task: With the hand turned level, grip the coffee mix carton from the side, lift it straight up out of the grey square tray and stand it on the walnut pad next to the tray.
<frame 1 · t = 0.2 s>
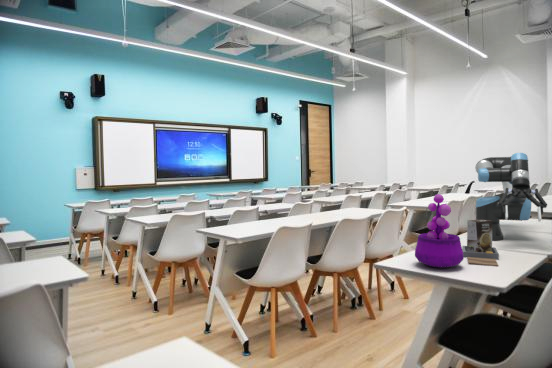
hand: (523, 219, 190), 15 cm above the table, tool tilted 35°, fingers open, 13 cm apart
decorative plant: (438, 266, 166), on the table
grey square tray: (479, 255, 183), on the table
coffee box: (479, 255, 183), resting in grey square tray
walnut pad: (482, 262, 170), on the table
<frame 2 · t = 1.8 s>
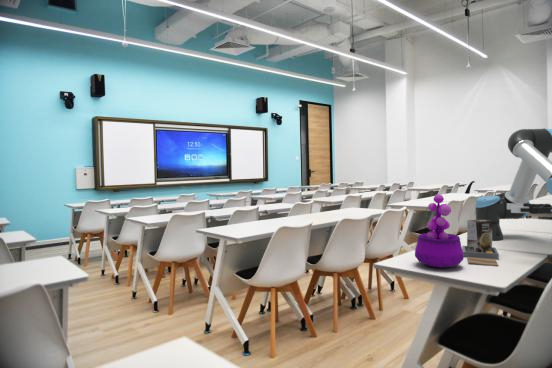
hand: (508, 207, 178), 22 cm above the table, tool horizontal, fingers open, 13 cm apart
nothing on the table moved.
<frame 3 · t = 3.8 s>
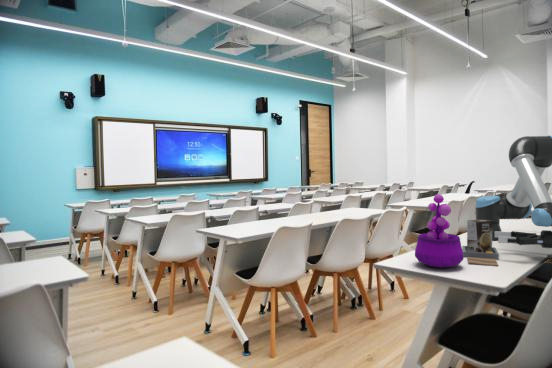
hand: (496, 236, 180), 9 cm above the table, tool horizontal, fingers open, 13 cm apart
nothing on the table moved.
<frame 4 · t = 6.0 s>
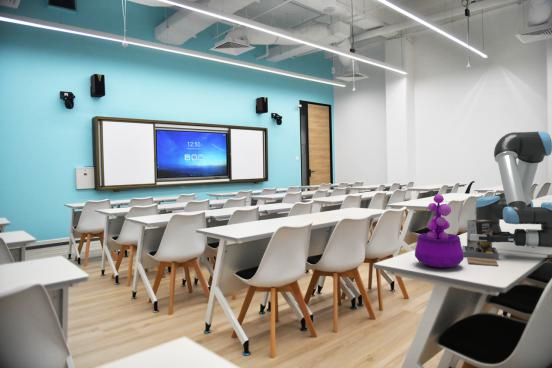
hand: (469, 235, 185), 9 cm above the table, tool horizontal, fingers closed on coffee box, 10 cm apart
coffee box: (479, 255, 183), resting in grey square tray, touching gripper
everything else where it was.
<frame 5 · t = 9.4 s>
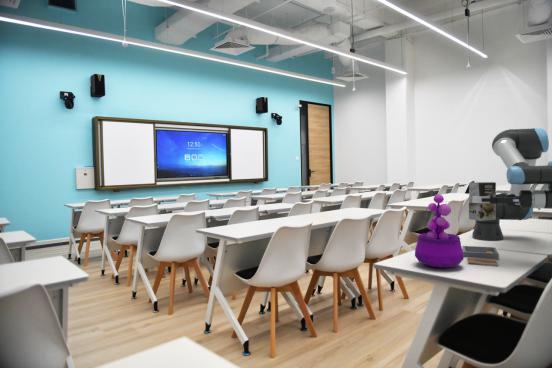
hand: (471, 198, 173), 27 cm above the table, tool horizontal, fingers closed on coffee box, 10 cm apart
coffee box: (482, 220, 172), point 18 cm above the table, touching gripper
everything else where it was.
when the fingers open (11 cm above the table, at t = 13.1 s): coffee box drops 1 cm, resting on walnut pad.
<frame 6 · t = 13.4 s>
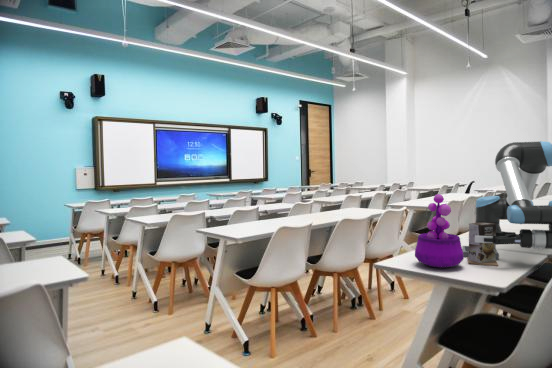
hand: (473, 236, 171), 11 cm above the table, tool horizontal, fingers open, 13 cm apart
coffee box: (482, 261, 171), resting on walnut pad
everything else where it was.
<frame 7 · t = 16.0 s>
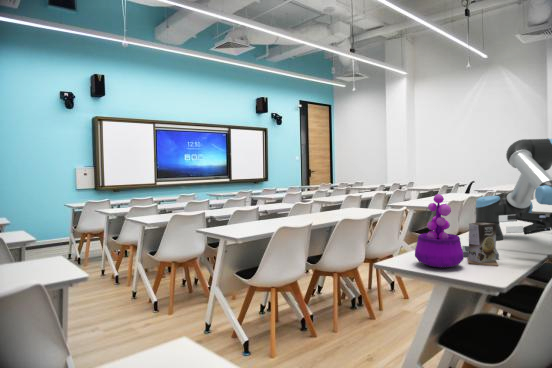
hand: (502, 224, 173), 16 cm above the table, tool horizontal, fingers open, 13 cm apart
nothing on the table moved.
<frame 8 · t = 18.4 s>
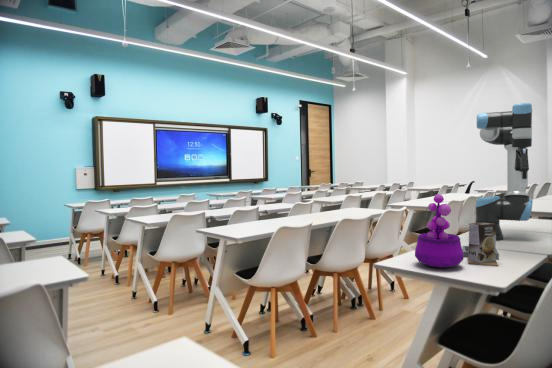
hand: (521, 185, 180), 32 cm above the table, tool pointing down, fingers open, 13 cm apart
nothing on the table moved.
at the end: coffee box inside the target area (0.2 cm from its centre), resting on walnut pad; coffee box tilted 0°; the gripper is holding nothing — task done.
